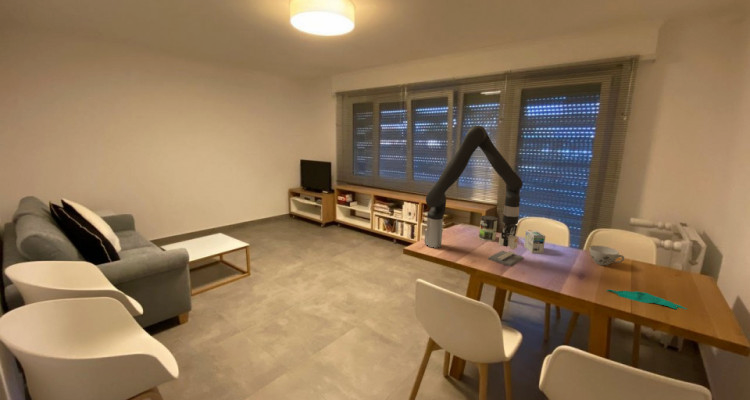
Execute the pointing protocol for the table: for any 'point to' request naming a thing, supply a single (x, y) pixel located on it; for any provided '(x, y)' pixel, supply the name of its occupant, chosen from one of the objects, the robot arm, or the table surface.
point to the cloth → (646, 298)
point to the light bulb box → (534, 241)
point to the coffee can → (488, 228)
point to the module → (509, 241)
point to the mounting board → (508, 261)
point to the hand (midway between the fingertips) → (507, 244)
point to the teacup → (604, 255)
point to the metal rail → (505, 256)
